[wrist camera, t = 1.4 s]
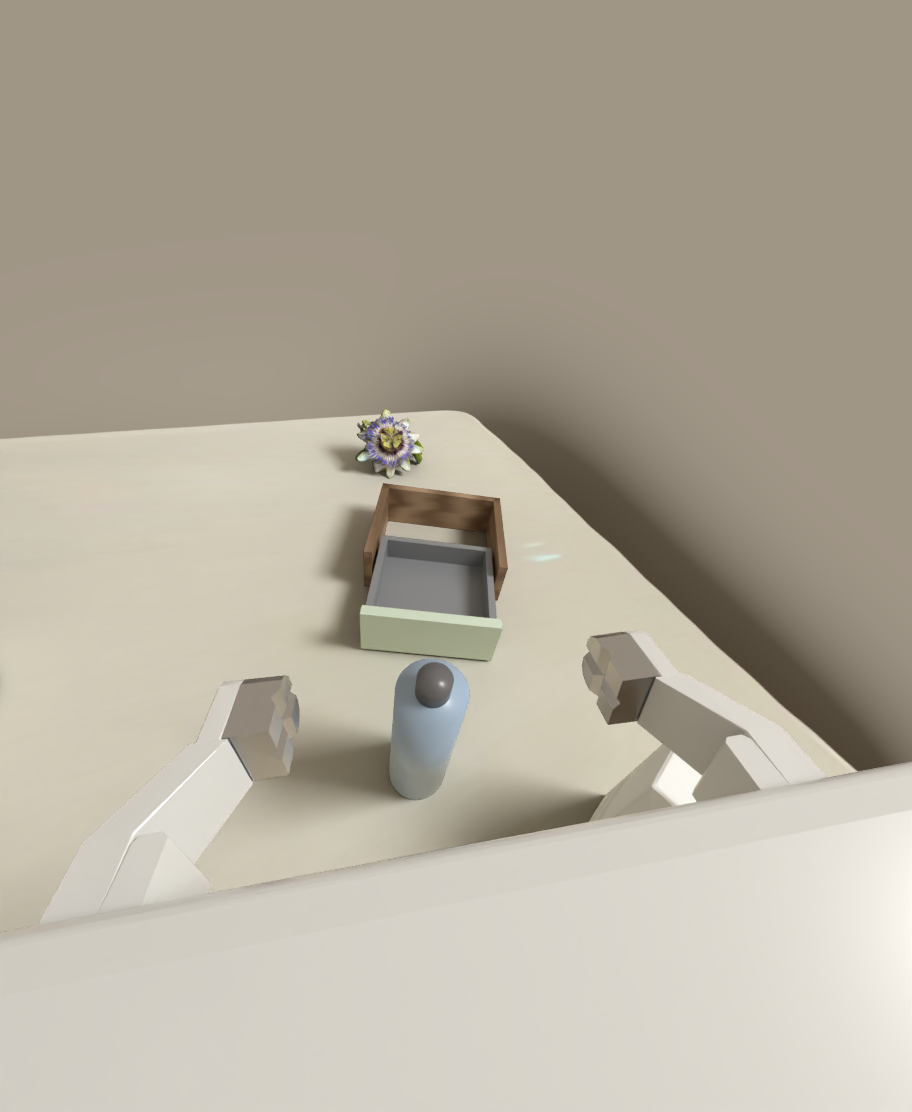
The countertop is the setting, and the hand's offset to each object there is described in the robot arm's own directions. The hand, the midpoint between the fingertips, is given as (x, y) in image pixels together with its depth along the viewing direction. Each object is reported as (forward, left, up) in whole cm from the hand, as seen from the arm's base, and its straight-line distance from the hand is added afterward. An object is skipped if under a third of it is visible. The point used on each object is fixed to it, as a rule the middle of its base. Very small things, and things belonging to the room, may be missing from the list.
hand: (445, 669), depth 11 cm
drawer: (+1, +28, -29) cm, 40 cm away
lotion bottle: (+1, +8, -29) cm, 30 cm away
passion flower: (-9, +60, -29) cm, 67 cm away
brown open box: (+1, +36, -29) cm, 46 cm away
